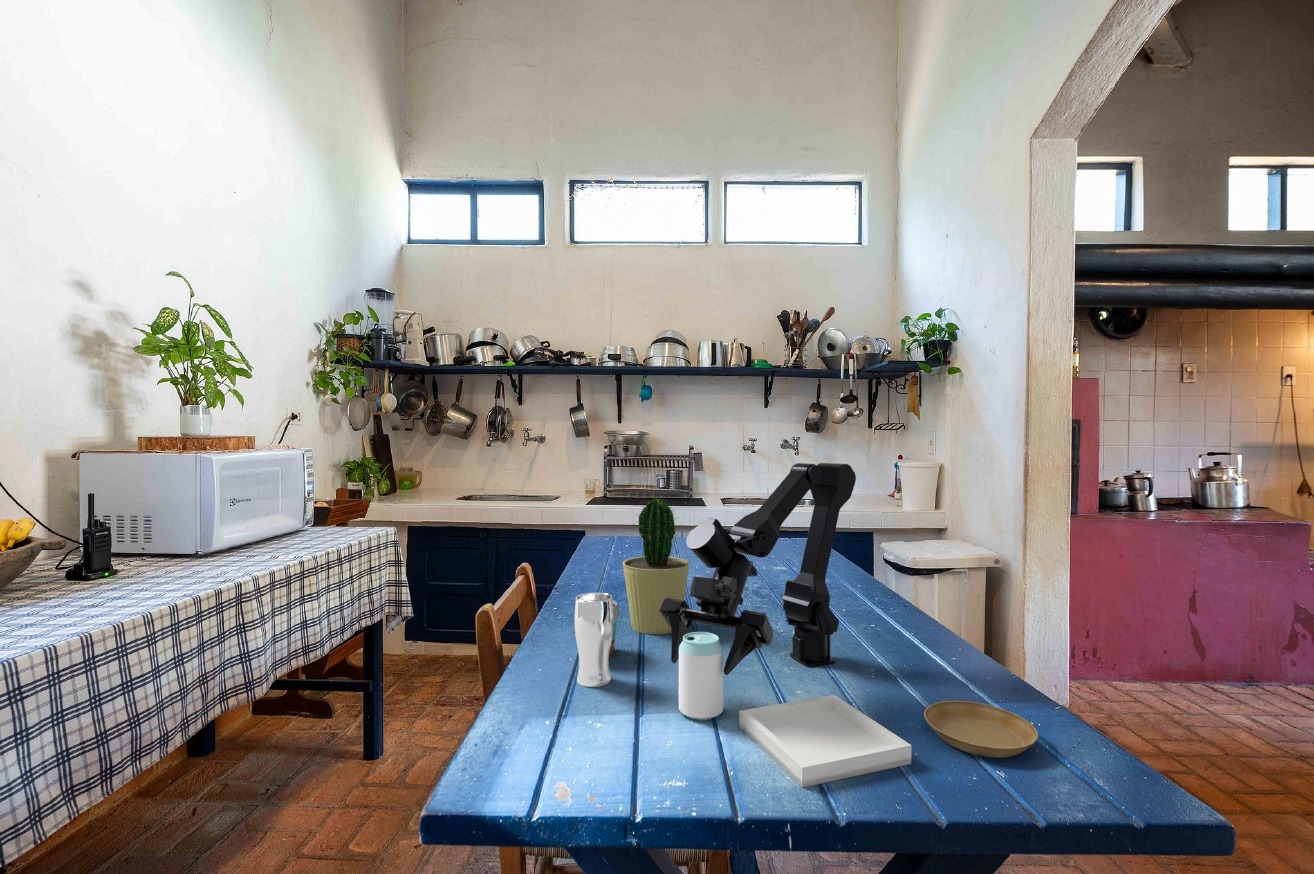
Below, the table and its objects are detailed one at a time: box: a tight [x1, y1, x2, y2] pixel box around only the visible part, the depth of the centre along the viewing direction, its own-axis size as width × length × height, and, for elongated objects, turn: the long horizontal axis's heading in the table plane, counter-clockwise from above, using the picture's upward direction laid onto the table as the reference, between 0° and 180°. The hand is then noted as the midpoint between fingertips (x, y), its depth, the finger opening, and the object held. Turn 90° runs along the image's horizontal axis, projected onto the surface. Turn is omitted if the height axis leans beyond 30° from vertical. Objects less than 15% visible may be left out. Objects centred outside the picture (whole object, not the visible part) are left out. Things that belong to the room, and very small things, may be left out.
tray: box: [738, 694, 912, 788], centre depth 88 cm, size 17×17×2 cm
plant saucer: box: [923, 700, 1039, 759], centre depth 90 cm, size 15×15×3 cm
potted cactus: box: [622, 497, 690, 635], centre depth 142 cm, size 15×15×30 cm
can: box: [678, 631, 724, 721], centre depth 98 cm, size 7×7×12 cm
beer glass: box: [574, 592, 614, 688], centre depth 111 cm, size 7×7×15 cm
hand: (698, 667), depth 98 cm, fingers open, 9 cm apart
